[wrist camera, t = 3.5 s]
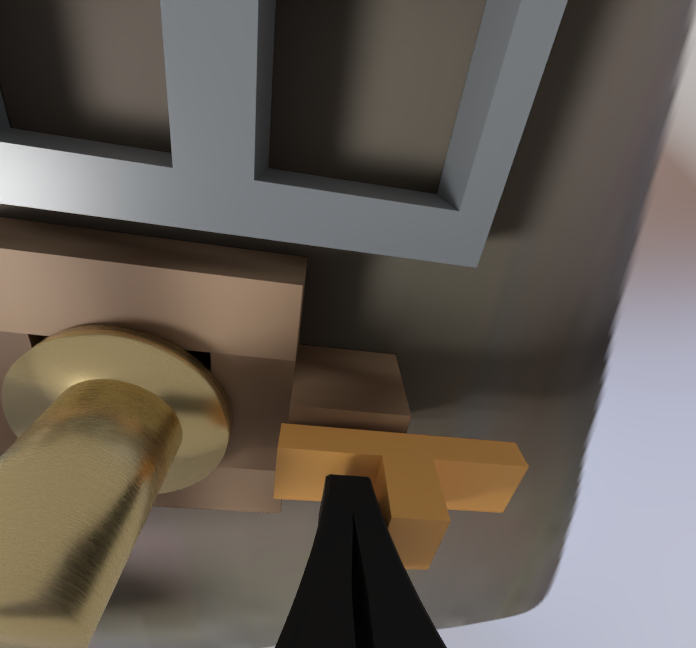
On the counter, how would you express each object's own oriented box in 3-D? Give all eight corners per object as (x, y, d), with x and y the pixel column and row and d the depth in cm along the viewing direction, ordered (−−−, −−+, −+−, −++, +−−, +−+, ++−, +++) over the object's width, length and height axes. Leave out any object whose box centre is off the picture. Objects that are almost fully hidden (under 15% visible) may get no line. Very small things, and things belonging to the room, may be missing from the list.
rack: (-11, 176, 11) (-92, 191, 9) (-148, -276, 7) (-352, -441, 5) (452, 242, 13) (476, 267, 11) (553, -100, 9) (624, -168, 7)
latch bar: (277, 472, 13) (263, 562, 10) (281, 423, 12) (267, 510, 9) (491, 487, 14) (529, 573, 11) (515, 442, 13) (562, 527, 10)
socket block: (50, 449, 17) (-13, 523, 14) (-32, 212, 12) (-162, 247, 9) (365, 471, 19) (371, 543, 16) (417, 271, 14) (442, 318, 10)
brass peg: (87, 421, 17) (-133, 697, 9) (49, 277, 13) (-368, 516, 5) (246, 433, 17) (174, 698, 9) (249, 300, 14) (141, 541, 6)
